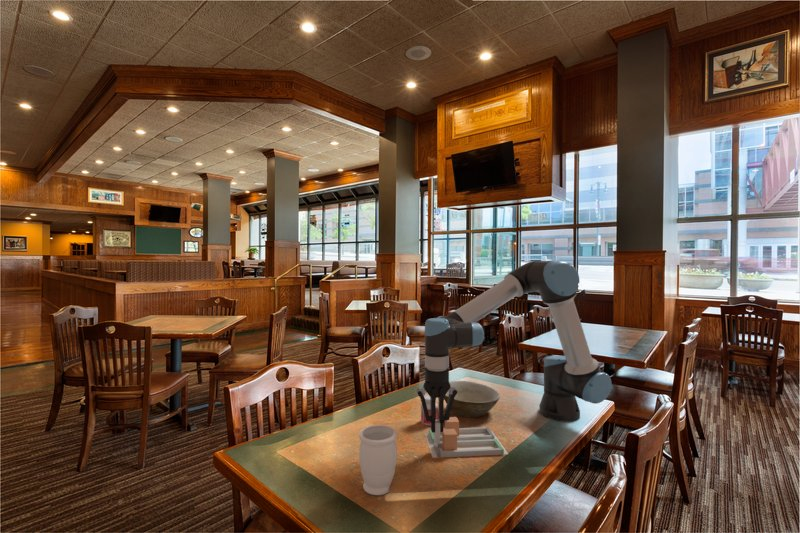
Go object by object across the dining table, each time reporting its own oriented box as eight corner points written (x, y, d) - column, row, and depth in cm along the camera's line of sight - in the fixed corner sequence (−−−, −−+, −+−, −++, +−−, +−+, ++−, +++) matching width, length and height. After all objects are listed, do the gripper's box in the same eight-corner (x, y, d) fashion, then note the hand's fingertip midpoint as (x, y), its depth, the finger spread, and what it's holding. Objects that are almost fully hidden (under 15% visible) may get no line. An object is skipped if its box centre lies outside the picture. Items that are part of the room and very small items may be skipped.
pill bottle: (441, 427, 142) (441, 398, 142) (427, 431, 139) (427, 401, 138) (430, 421, 147) (430, 393, 147) (417, 425, 144) (417, 396, 143)
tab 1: (456, 434, 133) (456, 416, 133) (459, 439, 129) (459, 421, 129) (445, 434, 133) (445, 417, 132) (447, 439, 129) (447, 422, 128)
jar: (359, 476, 110) (359, 425, 110) (395, 474, 111) (395, 423, 111) (358, 499, 100) (358, 442, 99) (398, 497, 100) (398, 441, 100)
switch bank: (492, 435, 136) (492, 426, 135) (508, 458, 120) (508, 449, 120) (425, 438, 134) (424, 429, 134) (432, 462, 118) (432, 452, 118)
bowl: (509, 412, 156) (510, 388, 155) (481, 432, 138) (481, 405, 137) (460, 398, 171) (460, 376, 171) (428, 415, 153) (428, 390, 153)
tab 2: (454, 447, 124) (454, 428, 124) (457, 453, 120) (457, 434, 120) (442, 447, 123) (442, 429, 123) (444, 453, 119) (444, 434, 119)
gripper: (454, 364, 125) (454, 435, 126) (414, 365, 124) (415, 437, 124) (459, 370, 118) (460, 446, 118) (417, 372, 116) (418, 448, 117)
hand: (437, 441), depth 121 cm, fingers closed
